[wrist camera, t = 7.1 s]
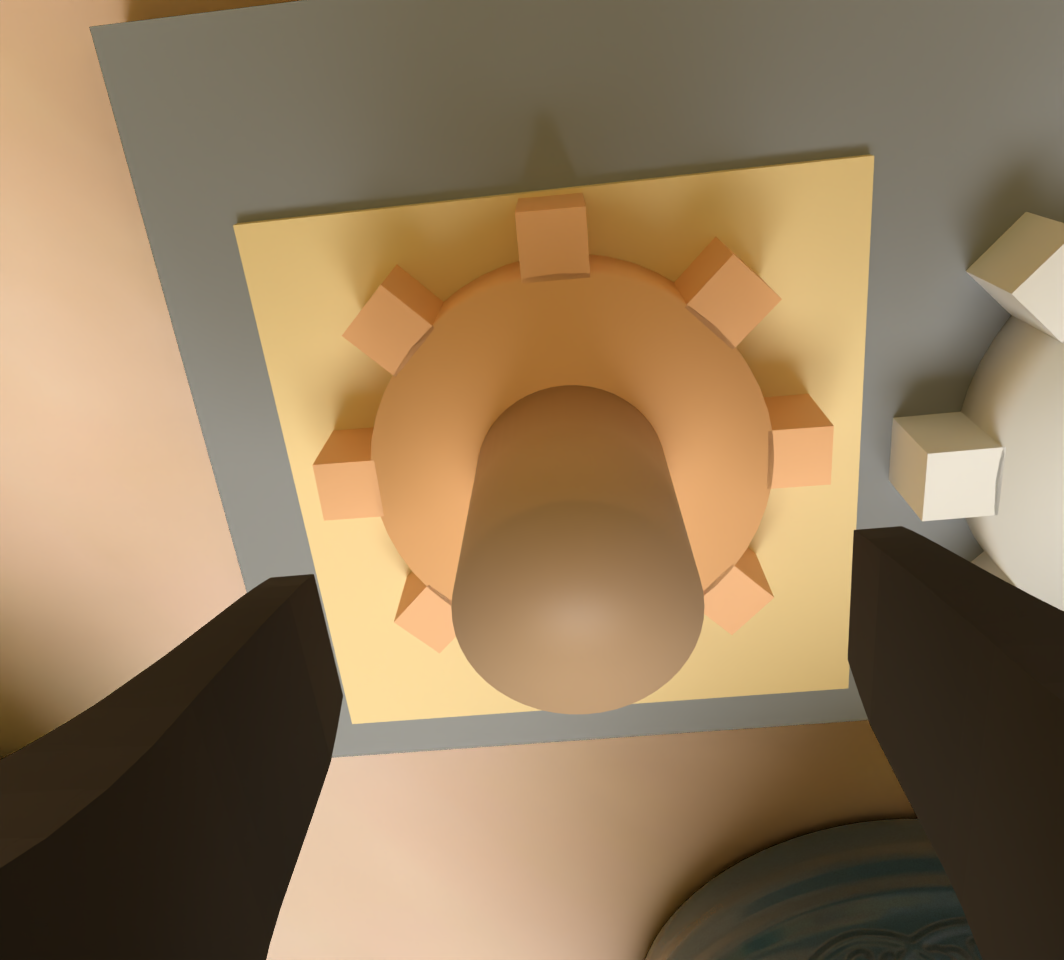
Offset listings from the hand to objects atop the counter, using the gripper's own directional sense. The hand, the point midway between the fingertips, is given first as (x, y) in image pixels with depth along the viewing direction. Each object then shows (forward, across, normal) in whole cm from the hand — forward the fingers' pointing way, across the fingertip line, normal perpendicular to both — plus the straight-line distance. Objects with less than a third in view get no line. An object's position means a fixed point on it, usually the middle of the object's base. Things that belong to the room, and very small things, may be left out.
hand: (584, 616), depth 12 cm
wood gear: (+4, 0, -1) cm, 4 cm away
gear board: (+6, -4, -1) cm, 7 cm away
